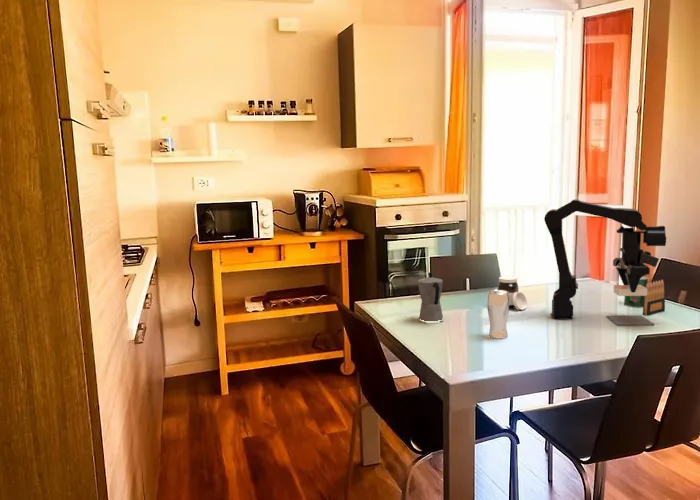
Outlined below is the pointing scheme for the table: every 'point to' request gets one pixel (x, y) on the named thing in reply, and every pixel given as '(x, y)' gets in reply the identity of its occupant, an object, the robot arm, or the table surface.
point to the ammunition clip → (654, 298)
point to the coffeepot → (430, 298)
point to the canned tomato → (636, 300)
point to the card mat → (630, 320)
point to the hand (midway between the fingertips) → (630, 290)
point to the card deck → (630, 290)
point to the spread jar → (512, 292)
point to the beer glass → (498, 313)
